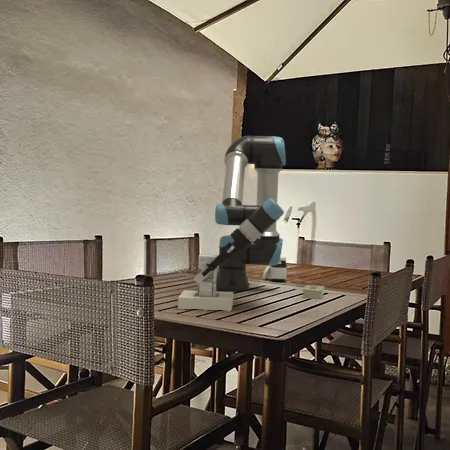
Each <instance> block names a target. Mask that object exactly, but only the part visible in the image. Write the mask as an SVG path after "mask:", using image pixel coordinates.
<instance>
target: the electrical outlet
mask: <svg viewBox="0 0 450 450" xmlns="http://www.w3.org/2000/svg"><path fill="white" fill-rule="evenodd" d="M324 293H325V286H324V285H314V284H313V285H309V284H306V285H305V286H304V287H303V291H302V298H303V299H310V300H311V299H312V300H322V298H323V296H324Z"/></svg>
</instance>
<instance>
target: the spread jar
mask: <svg viewBox="0 0 450 450" xmlns="http://www.w3.org/2000/svg"><path fill="white" fill-rule="evenodd" d="M287 272H288V265H287V257H286V256H280V261H279V263H278V264H277V265H269V266H267V265H266V267H265V269H264V271H263V273H262V279H263V280H265V281H267V280H268V279H270V281H271V282H274V283H285V282H287V275H288V273H287ZM266 279H267V280H266Z"/></svg>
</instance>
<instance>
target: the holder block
mask: <svg viewBox="0 0 450 450" xmlns="http://www.w3.org/2000/svg"><path fill="white" fill-rule="evenodd" d="M234 292H235V291H217V290H216V296H215V297H201V296H198V290H191V289H189V290H187V289H184V290H183V291H182V292H181V294H180V295H179V296H178V298H177V310H184V309H204V310H203V311H207V310H227V311H226V312H230V311H231V310H232V309H233V306H234ZM231 312H232V311H231Z"/></svg>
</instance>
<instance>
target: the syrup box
mask: <svg viewBox="0 0 450 450" xmlns="http://www.w3.org/2000/svg"><path fill="white" fill-rule="evenodd" d="M217 256H218V255H217V254H205V253H204V254H199V255H198V269H197V271H198V272H197V274H199V273H200V272H201V271H202V270H203V269H204V268H205V267H206V266H207V265H206V264H207V263H208V264H210V263H211V262H212V261H213V260H214V259H215V258H217ZM217 273H218V267H217V268H216V269H215V270H214V271H213V272H212V273H210V274H209V275H208V276H207V277H206V278H205V279H204V280H203V281H202V282H201V283H200V284H198V283H197V291H198V296H201V297H215V296H216V291H217V289H216V276H217Z"/></svg>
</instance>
